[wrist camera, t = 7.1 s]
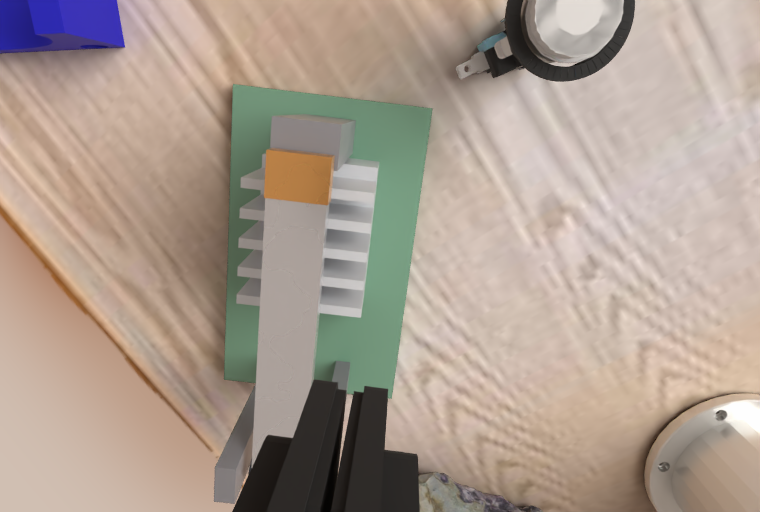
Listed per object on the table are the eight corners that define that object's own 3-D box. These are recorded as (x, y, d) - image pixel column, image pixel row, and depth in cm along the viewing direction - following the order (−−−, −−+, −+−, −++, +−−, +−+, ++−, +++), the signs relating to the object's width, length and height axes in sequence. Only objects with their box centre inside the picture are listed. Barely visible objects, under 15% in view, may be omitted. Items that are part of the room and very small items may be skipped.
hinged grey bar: (336, 155, 21) (332, 157, 20) (307, 474, 26) (303, 490, 25) (271, 147, 21) (264, 149, 20) (254, 467, 26) (248, 484, 25)
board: (431, 108, 31) (457, 108, 19) (391, 391, 36) (392, 529, 24) (237, 84, 30) (139, 68, 19) (228, 372, 36) (148, 502, 24)
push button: (472, 114, 31) (510, 116, 21) (438, 30, 29) (461, -9, 20) (575, 64, 30) (663, 43, 20) (544, -25, 28) (622, -93, 19)
